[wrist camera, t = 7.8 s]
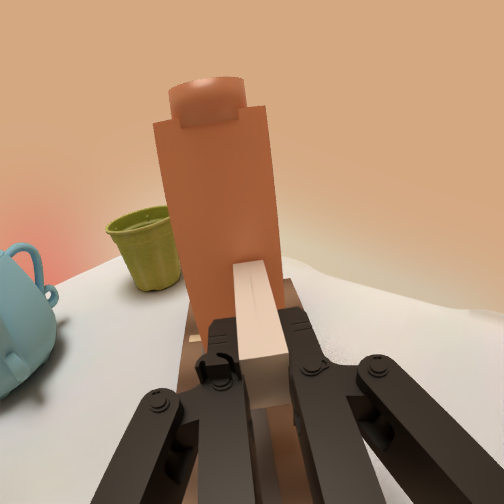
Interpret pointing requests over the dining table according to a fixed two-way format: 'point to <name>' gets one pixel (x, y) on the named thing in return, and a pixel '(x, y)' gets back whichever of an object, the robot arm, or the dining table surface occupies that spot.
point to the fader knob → (219, 193)
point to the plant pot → (147, 247)
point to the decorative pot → (24, 319)
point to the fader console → (256, 429)
